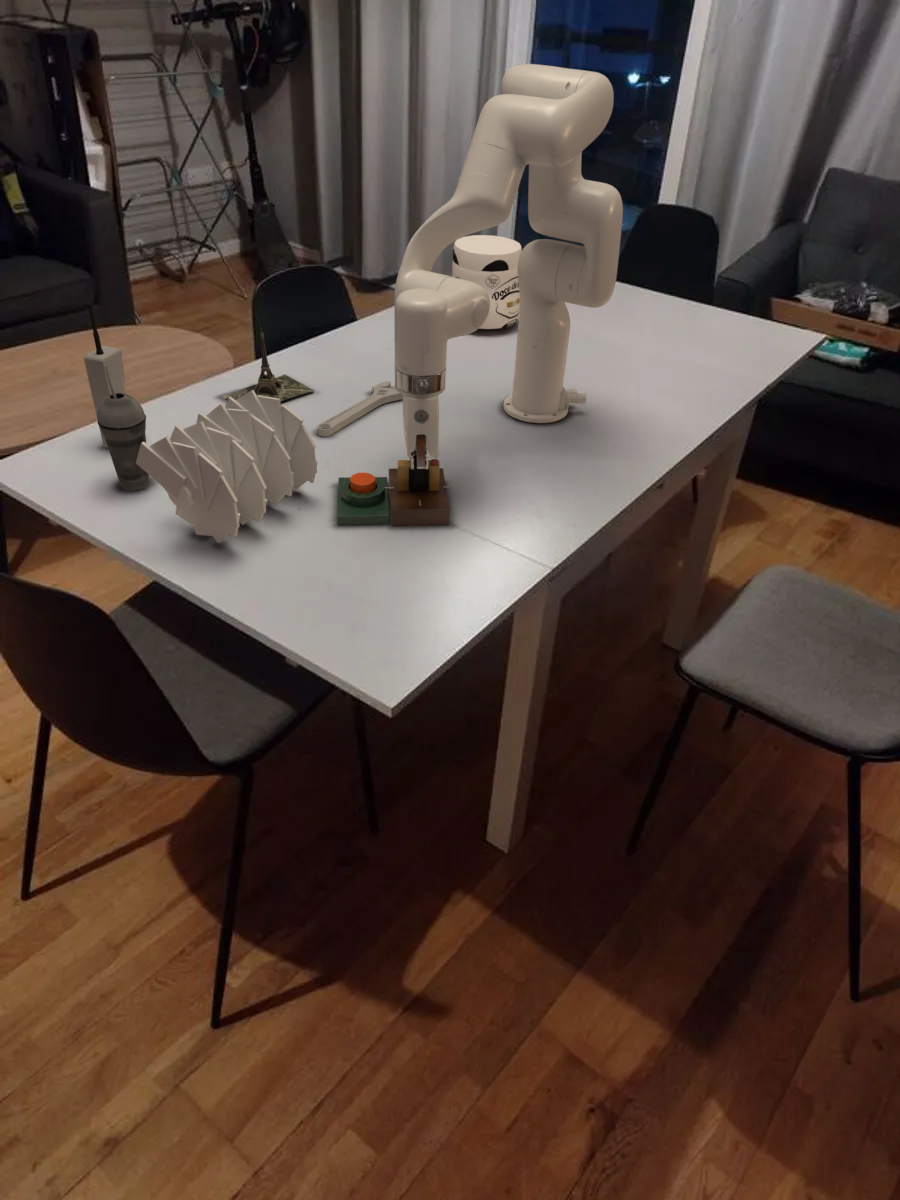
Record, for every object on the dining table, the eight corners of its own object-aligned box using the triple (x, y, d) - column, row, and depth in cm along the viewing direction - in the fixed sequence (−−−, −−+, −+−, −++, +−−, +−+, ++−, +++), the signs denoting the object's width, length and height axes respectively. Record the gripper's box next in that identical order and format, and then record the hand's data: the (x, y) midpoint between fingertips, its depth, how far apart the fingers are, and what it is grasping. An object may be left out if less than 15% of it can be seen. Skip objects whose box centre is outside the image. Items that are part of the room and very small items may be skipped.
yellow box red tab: (398, 491, 140) (398, 464, 137) (397, 484, 141) (397, 458, 139) (438, 490, 140) (439, 464, 137) (438, 484, 142) (438, 458, 139)
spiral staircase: (311, 507, 148) (210, 575, 130) (233, 441, 150) (122, 499, 131) (349, 427, 136) (244, 490, 118) (264, 357, 137) (147, 408, 119)
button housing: (338, 486, 146) (338, 467, 144) (387, 485, 147) (386, 467, 145) (337, 525, 137) (336, 506, 135) (389, 524, 138) (389, 505, 135)
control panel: (383, 484, 147) (383, 467, 145) (447, 483, 148) (448, 466, 146) (386, 526, 137) (385, 509, 135) (454, 525, 138) (455, 508, 136)
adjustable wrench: (325, 439, 160) (325, 430, 158) (300, 428, 163) (300, 419, 161) (414, 394, 175) (414, 386, 174) (389, 385, 178) (389, 377, 177)
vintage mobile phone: (139, 439, 156) (111, 298, 141) (122, 451, 153) (91, 308, 137) (121, 435, 157) (91, 295, 142) (103, 447, 154) (71, 305, 138)
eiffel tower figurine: (251, 414, 166) (244, 346, 158) (221, 397, 171) (212, 329, 163) (314, 392, 174) (310, 326, 166) (284, 376, 180) (278, 311, 172)
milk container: (521, 339, 201) (528, 258, 190) (445, 335, 201) (448, 254, 190) (517, 312, 215) (524, 235, 204) (446, 309, 215) (449, 232, 204)
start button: (350, 481, 141) (350, 472, 140) (375, 481, 142) (375, 472, 141) (350, 494, 138) (349, 485, 137) (375, 494, 139) (375, 484, 138)
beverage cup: (133, 500, 140) (108, 381, 128) (102, 486, 143) (74, 369, 131) (167, 481, 145) (147, 365, 133) (136, 468, 148) (113, 354, 136)
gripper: (449, 401, 124) (445, 512, 135) (441, 357, 136) (438, 462, 147) (396, 401, 123) (396, 513, 134) (393, 356, 135) (393, 462, 147)
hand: (418, 485), depth 141 cm, fingers closed
